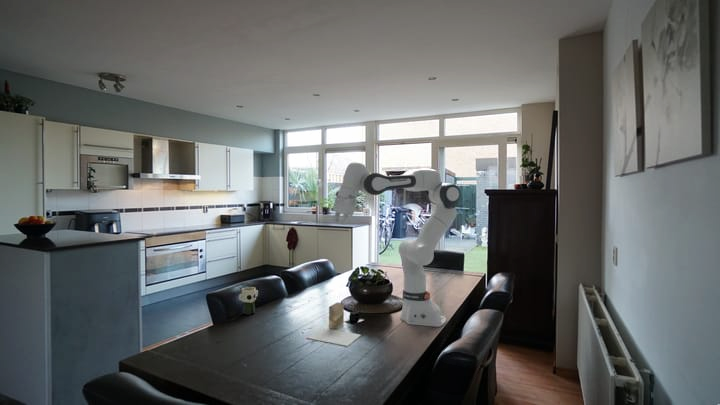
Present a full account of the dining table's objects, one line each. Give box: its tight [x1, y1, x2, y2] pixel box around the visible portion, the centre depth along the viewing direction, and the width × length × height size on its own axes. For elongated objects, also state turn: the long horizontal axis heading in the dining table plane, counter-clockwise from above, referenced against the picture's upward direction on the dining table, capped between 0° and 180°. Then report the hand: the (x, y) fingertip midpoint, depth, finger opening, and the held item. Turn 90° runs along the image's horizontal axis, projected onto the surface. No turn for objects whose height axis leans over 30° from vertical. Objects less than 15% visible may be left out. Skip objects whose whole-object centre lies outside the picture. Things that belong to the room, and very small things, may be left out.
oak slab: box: [328, 301, 345, 331], centre depth 176 cm, size 4×8×10 cm, turn 155°
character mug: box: [238, 286, 259, 315], centre depth 194 cm, size 11×7×13 cm, turn 140°
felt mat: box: [306, 327, 362, 347], centre depth 163 cm, size 20×13×1 cm, turn 65°
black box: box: [344, 311, 365, 326], centre depth 184 cm, size 12×7×5 cm, turn 139°
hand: (339, 223), depth 176 cm, fingers open, 8 cm apart
